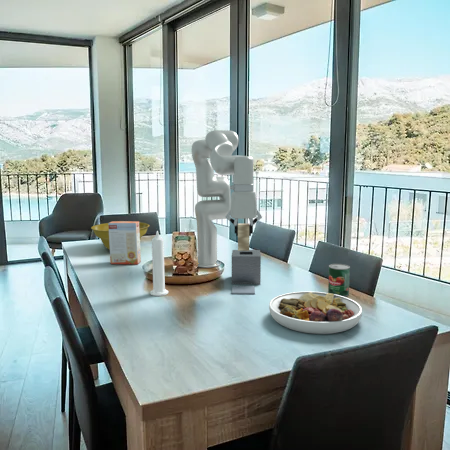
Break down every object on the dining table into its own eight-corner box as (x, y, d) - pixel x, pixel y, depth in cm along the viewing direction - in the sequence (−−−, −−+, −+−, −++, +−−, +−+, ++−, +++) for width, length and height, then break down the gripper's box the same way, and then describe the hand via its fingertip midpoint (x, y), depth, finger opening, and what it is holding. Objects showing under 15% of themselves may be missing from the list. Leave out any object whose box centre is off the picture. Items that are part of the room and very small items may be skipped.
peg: (237, 250, 176) (237, 225, 174) (238, 248, 180) (238, 223, 179) (249, 250, 176) (249, 225, 174) (249, 248, 180) (249, 223, 179)
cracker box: (141, 261, 228) (139, 220, 225) (137, 264, 222) (136, 222, 219) (114, 261, 230) (112, 220, 226) (110, 264, 224) (107, 222, 220)
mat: (231, 294, 177) (231, 292, 177) (232, 287, 186) (232, 285, 186) (254, 294, 176) (254, 292, 176) (254, 287, 185) (254, 285, 185)
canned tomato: (349, 291, 180) (350, 264, 178) (348, 297, 172) (350, 269, 170) (328, 289, 182) (329, 263, 180) (327, 296, 174) (328, 268, 172)
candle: (164, 296, 174) (163, 232, 170) (147, 295, 176) (145, 232, 172) (170, 291, 181) (169, 229, 177) (153, 290, 183) (151, 228, 178)
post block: (231, 284, 190) (231, 256, 188) (232, 276, 202) (232, 249, 200) (260, 284, 189) (260, 256, 187) (259, 276, 201) (259, 250, 199)
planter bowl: (102, 243, 275) (101, 221, 272) (155, 243, 273) (154, 221, 271) (83, 255, 243) (82, 230, 241) (143, 255, 242) (142, 230, 239)
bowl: (254, 310, 160) (254, 289, 158) (328, 300, 170) (328, 280, 169) (296, 344, 132) (297, 318, 131) (381, 329, 142) (382, 305, 141)
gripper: (221, 189, 171) (221, 237, 174) (265, 189, 170) (265, 237, 173) (222, 188, 178) (222, 233, 181) (265, 187, 178) (264, 233, 181)
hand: (243, 234), depth 177 cm, fingers closed on peg, 4 cm apart
